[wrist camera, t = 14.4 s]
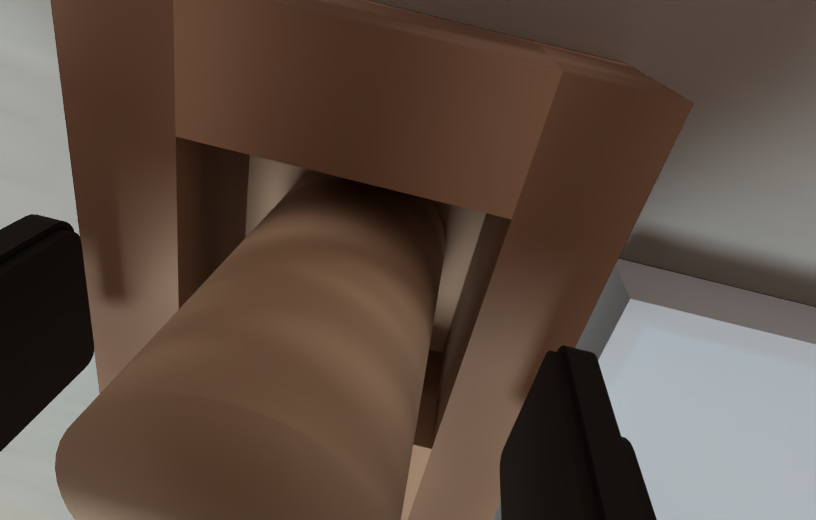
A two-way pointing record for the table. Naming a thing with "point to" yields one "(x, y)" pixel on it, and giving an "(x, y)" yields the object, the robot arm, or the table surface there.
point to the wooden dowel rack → (368, 163)
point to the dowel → (276, 374)
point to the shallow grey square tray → (710, 393)
